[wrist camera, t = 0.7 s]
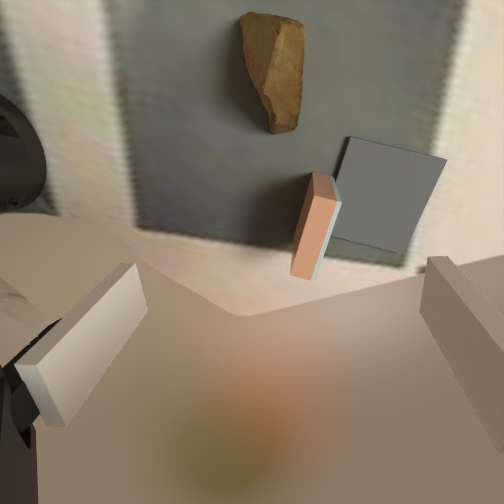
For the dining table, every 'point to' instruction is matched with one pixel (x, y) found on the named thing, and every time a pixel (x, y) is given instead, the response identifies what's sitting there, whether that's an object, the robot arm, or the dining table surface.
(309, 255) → the tile
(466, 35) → the dining table surface
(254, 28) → the rock
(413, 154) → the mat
